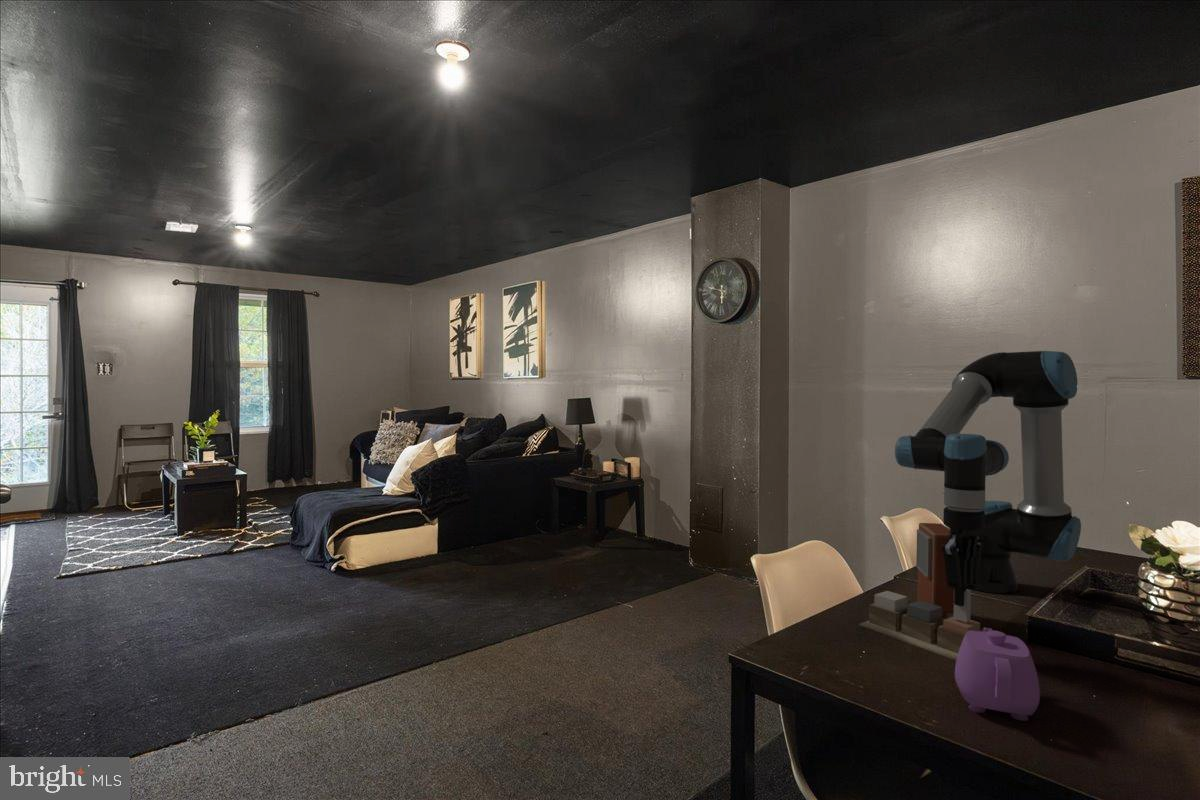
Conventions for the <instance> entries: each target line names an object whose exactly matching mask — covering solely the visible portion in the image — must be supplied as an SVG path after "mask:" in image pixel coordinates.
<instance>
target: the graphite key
mask: <svg viewBox="0 0 1200 800" xmlns="http://www.w3.org/2000/svg"><path fill="white" fill-rule="evenodd" d="M907 616H908V617H911V618H914V619H917V620H920V621H923V622H926V623H929V624H930V623H933V622H936V621H938V620H941V619H942V607H940V606H937V605H934V604H930V603H927V602H924V601H918V600H917V601H914V602H911V603H909V604H908V603H907Z"/></svg>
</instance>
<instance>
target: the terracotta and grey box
mask: <svg viewBox="0 0 1200 800" xmlns="http://www.w3.org/2000/svg"><path fill="white" fill-rule="evenodd" d="M949 533H950V528H949V527H948V526H946V525H944V523H943V524H942V523H937V522H936V523H934V522H933V523H932V522H919V523H918V529H916V557H915V559H916V561H915V562H916V565H915V568H917V601H924V602H927V603H930V604H934V605H937V606H940V607H942V617H944V618H947V619H948V618H951V617H953V616H954V589H953V588H950V587H948V585H947V576H946V568H945V559H944V553H943V551H942V548H941V547H942V544H948V542H949Z"/></svg>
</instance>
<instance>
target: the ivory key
mask: <svg viewBox="0 0 1200 800" xmlns="http://www.w3.org/2000/svg"><path fill="white" fill-rule="evenodd" d="M873 604H874V606H877V607H880V608H883V609H886V610H889V611H892V612H898V611H901V610H904V609H907V605H908V596H907V595H903V594H899V593H896V592H892V591H889V590H885V591H882V592H878V593H875V594H874V602H873Z"/></svg>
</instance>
